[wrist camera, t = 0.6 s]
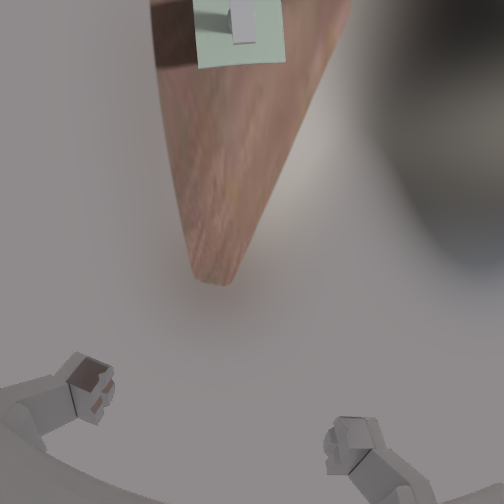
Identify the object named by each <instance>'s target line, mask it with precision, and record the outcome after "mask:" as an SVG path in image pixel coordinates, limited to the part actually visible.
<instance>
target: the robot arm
mask: <svg viewBox="0 0 504 504" xmlns="http://www.w3.org/2000/svg"><path fill="white" fill-rule="evenodd" d="M113 374H114V371H113V367H112V366H110V365H107V364H105V363H103V362H100V361H98V360H96V359H93V358H91V357H89V356H86V355H84V354H81V353H79V352H75V353H73V354H72V355H71V357H70V358H69V359H68V360H67V361H66V362H65V363H64V364H63V365H62V367H61V368H60V369H59V370H58V371H57V372H56V374H55V375H54V376H52V375H47V376H44V377H40V378H37V379H33V380H30V381H26V382H23V383H19V384H15V385H12V386H8V387H4V388H0V504H168V503H164V502H161V501H157V500H154V499H151V498H147V497H144V496H141V495H138V494H135V493H132V492H129V491H127V490H124V489H121V488H119V487H116V486H114V485H111V484H109V483H106V482H104V481H101V480H99V479H97V478H94V477H92V476H90V475H88V474H86V473H84V472H82V471H80V470H77V469H75V468H73V467H71V466H69V465H68V464H66V463H64V462H62V461H60V460H58V459H56V458H54V457H53V456H51V455H49V454H47V453H46V451H47V449H46V446H45V444H44V442H43V440H42V438H41V436H43V435H45V434H47V433H49V432H51V431H53V430H55V429H57V428H59V427H61V426H63V425H65V424H67V423H69V422H71V421H73V420H75V419H77V417H78V418H80V419H82V420H85V421H87V422H89V423H92V424H94V425H98V423H99V422H100V420H101V418H102V416H103V415H104V409H103V408H104V407H106V406H109V404H110V402H111V401H112V398H113V395H114V390H115V383H114V381H113V380H112V379H111V378H112V376H113ZM324 452H325V453H326V454H327V456H328V459H327V460H326V467H327V474H328V475H348V477H349V478H350V480H351V481H352V482H353V483H354V485H355V486H356V487H357V488H358V490H359V491H360V492H361V493H362V494H363V496H364V497H365V498H366V499H367V500H368V502H369V503H370V504H437V502H436V499H435V496H434V493H433V491H432V487H431V485H430V482H429V480H428V479H427V478H425V477H424V476H423V475H422V474H420V473H419V472H418V471H417V470H416V469H414V468H413V467H412V466H411V465H409V464H408V463H407V462H406V461H405V460H403V459H402V458H401V457H400V456H399V455H398V454H396V453H395V452H394V451H393V450H392V449H387V446H386V443H385V440H384V437H383V435H382V432H381V429H380V426H379V423H378V420H377V419H376V418H370V417H345V416H339V417H337V418H336V420H335V421H334V427H333V428H331V429H329V430H328V432H327V434H326V435H325V439H324ZM440 504H504V484H503V483H496V484H493V485H490V486H488V487H486V488H483V489H481V490H478V491H476V492H473V493H470V494H467V495H465V496H462V497H459V498H456V499H453V500H450V501H446V502H443V503H440Z"/></svg>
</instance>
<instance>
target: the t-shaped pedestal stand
mask: <svg viewBox="0 0 504 504" xmlns="http://www.w3.org/2000/svg"><path fill="white" fill-rule="evenodd" d="M193 10H194V23H195V35H196V46H197V57H198V68H199V69H208V68H216V67H226V66H237V65H252V64H276V63H285V47H284V33H283V20H282V9H281V0H193Z"/></svg>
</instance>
